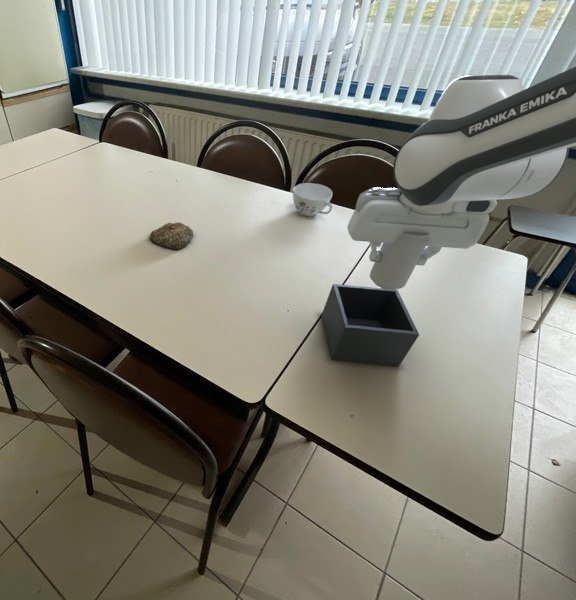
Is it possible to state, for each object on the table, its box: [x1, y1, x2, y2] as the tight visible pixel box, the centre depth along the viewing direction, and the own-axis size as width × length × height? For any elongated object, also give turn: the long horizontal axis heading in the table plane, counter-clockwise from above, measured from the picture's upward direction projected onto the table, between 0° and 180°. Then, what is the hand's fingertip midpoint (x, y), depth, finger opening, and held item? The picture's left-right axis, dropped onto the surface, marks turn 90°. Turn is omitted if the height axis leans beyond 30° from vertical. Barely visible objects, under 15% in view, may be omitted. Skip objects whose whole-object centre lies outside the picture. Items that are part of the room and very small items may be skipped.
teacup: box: [292, 182, 333, 217], centre depth 122 cm, size 15×12×8 cm
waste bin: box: [320, 283, 420, 368], centre depth 78 cm, size 14×14×10 cm
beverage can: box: [369, 232, 429, 290], centre depth 66 cm, size 6×6×12 cm
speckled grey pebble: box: [149, 221, 194, 250], centre depth 112 cm, size 13×12×5 cm
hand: (395, 261), depth 67 cm, fingers closed on beverage can, 6 cm apart
